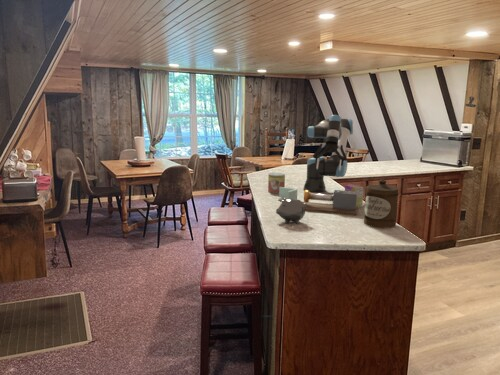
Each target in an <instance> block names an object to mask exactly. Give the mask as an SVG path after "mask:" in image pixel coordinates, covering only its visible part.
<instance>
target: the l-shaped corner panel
mask: <svg viewBox="0 0 500 375" xmlns="http://www.w3.org/2000/svg"><path fill="white" fill-rule="evenodd" d="M283 198H286V199H297V200H298V188H291V187H279V193H278V201H279V202H282V201H283Z"/></svg>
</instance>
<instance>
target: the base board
mask: <svg viewBox="0 0 500 375" xmlns="http://www.w3.org/2000/svg"><path fill="white" fill-rule="evenodd" d="M302 202H303V203H304V204H307V205H308V206H307V208H306V211H305V212H311V213H323V214H335V215H345V216H346V215H347V216H358V210H359V207H358V206H356V210H355V211H351V210H339V209H333V203H322V202H310V201H309V202H304V201H302Z"/></svg>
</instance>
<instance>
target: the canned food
mask: <svg viewBox="0 0 500 375" xmlns="http://www.w3.org/2000/svg"><path fill="white" fill-rule="evenodd" d="M285 181H286V174H285V173H279V172H272V173H271V172H270V173H268V182H267V183H268V184H267V190H268V191H267V192H268V193H269V194H279V187H285V183H286V182H285ZM285 188H286V187H285Z"/></svg>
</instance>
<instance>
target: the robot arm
mask: <svg viewBox="0 0 500 375" xmlns="http://www.w3.org/2000/svg"><path fill="white" fill-rule="evenodd" d="M353 123H354V122H353V119H352V118H342V117H341V116H340V115H339V114H332V115H330V116H329V118H326V119H324V120H322V121H320V122H319V123H318V124H316V125H311V126H310V125H309V126H308V127H307V131H306V132H307V137H308V138H312V139H313V138H315V139H317V138H318V139H325V144H322V143H320V145H319V147H318V148H317V149H316V151H315V152H314V154H313V155H312V156H313V157H310V158H308V159H307V163H306V180H305V182H304V186H303V191H305V190H309V193H311V192H312V193H322V192H323V193H324V192H326V191H327V190H326V189H327V188H326V184H325V180H324V177H336V178H342V177H343V178H344V177H345V175H346V173H347V171H348V170H347V169H348V160H347V159H348V157H347V155H346V149H347V143H348V139H349V138H350V136H351V135H353V134H354V133H353V132H354V128H353V125H354V124H353ZM326 153H331V155H330V156H329V157H328V158H326V157H325V156H324V155H325V154H326Z"/></svg>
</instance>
